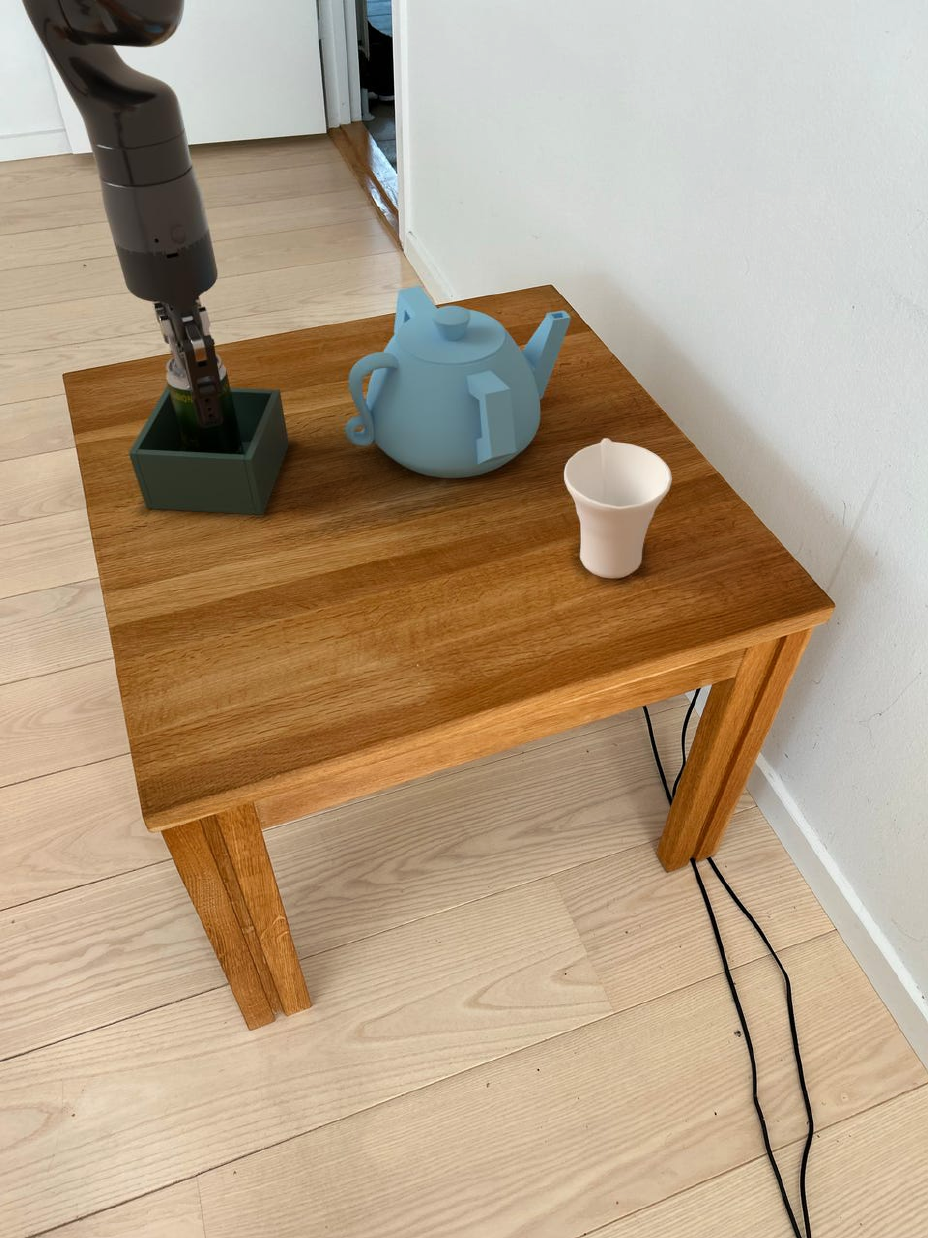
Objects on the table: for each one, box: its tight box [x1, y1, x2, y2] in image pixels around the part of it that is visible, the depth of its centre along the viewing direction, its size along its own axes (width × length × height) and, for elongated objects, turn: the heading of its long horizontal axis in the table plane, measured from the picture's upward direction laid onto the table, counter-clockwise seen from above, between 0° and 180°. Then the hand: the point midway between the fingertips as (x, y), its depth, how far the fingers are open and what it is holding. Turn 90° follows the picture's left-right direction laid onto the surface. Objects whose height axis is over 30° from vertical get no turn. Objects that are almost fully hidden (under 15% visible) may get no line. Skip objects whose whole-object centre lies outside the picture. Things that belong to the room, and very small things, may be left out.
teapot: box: [344, 284, 572, 479], centre depth 92 cm, size 19×19×14 cm
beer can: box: [165, 352, 244, 455], centre depth 87 cm, size 5×5×12 cm
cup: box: [563, 437, 673, 580], centre depth 80 cm, size 9×9×10 cm
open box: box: [128, 384, 290, 516], centre depth 90 cm, size 11×11×6 cm
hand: (203, 407), depth 86 cm, fingers closed on beer can, 5 cm apart
